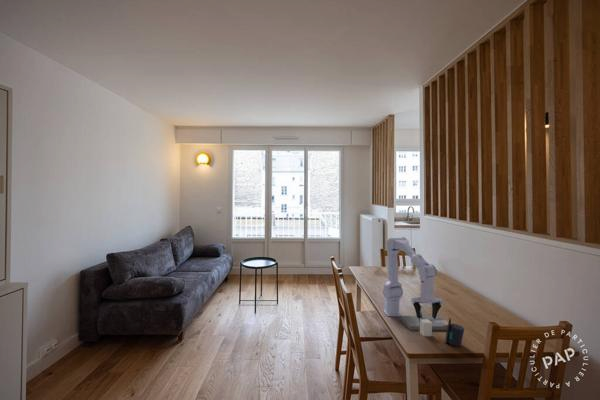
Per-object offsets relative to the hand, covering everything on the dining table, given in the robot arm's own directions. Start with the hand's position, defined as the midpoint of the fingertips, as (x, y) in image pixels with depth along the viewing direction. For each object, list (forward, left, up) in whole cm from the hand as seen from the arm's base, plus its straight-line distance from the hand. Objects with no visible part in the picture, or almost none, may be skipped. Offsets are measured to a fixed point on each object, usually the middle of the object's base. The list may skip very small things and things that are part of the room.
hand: (426, 317), depth 146 cm
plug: (0, 0, -8) cm, 8 cm away
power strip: (-11, +5, -8) cm, 14 cm away
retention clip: (-17, +9, -6) cm, 20 cm away
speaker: (+9, +9, -8) cm, 15 cm away
